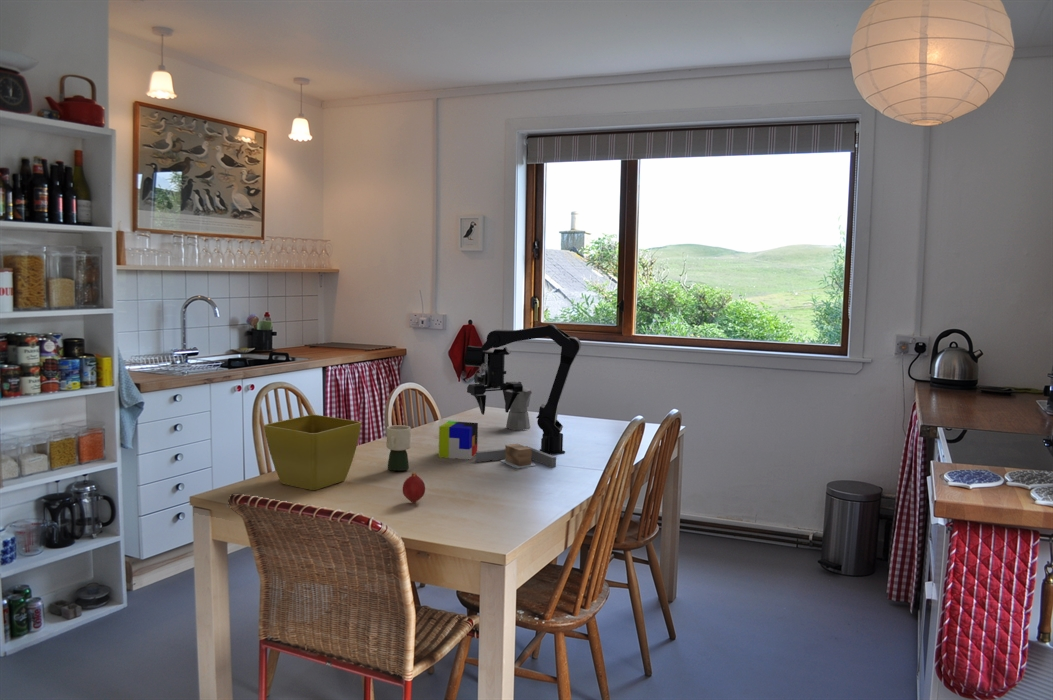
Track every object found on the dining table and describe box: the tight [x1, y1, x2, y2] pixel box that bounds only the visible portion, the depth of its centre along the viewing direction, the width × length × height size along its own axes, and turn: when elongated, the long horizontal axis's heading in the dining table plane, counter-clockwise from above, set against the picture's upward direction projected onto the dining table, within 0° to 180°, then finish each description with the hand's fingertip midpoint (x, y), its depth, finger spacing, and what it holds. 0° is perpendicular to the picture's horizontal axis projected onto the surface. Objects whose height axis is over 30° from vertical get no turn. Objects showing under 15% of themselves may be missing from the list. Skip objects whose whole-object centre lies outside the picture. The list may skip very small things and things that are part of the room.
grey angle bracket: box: [475, 445, 557, 468], centre depth 244 cm, size 19×17×3 cm
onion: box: [402, 472, 426, 504], centre depth 200 cm, size 6×6×8 cm
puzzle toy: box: [438, 420, 479, 460], centre depth 253 cm, size 10×10×10 cm
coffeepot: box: [502, 381, 533, 431], centre depth 299 cm, size 15×9×18 cm, turn 44°
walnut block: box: [504, 443, 532, 466], centre depth 244 cm, size 8×4×5 cm, turn 35°
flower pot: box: [263, 414, 362, 491], centre depth 216 cm, size 19×19×17 cm
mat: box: [499, 459, 537, 469], centre depth 244 cm, size 7×10×1 cm
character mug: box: [385, 424, 412, 473], centre depth 232 cm, size 11×7×13 cm, turn 168°
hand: (494, 413), depth 263 cm, fingers open, 9 cm apart
